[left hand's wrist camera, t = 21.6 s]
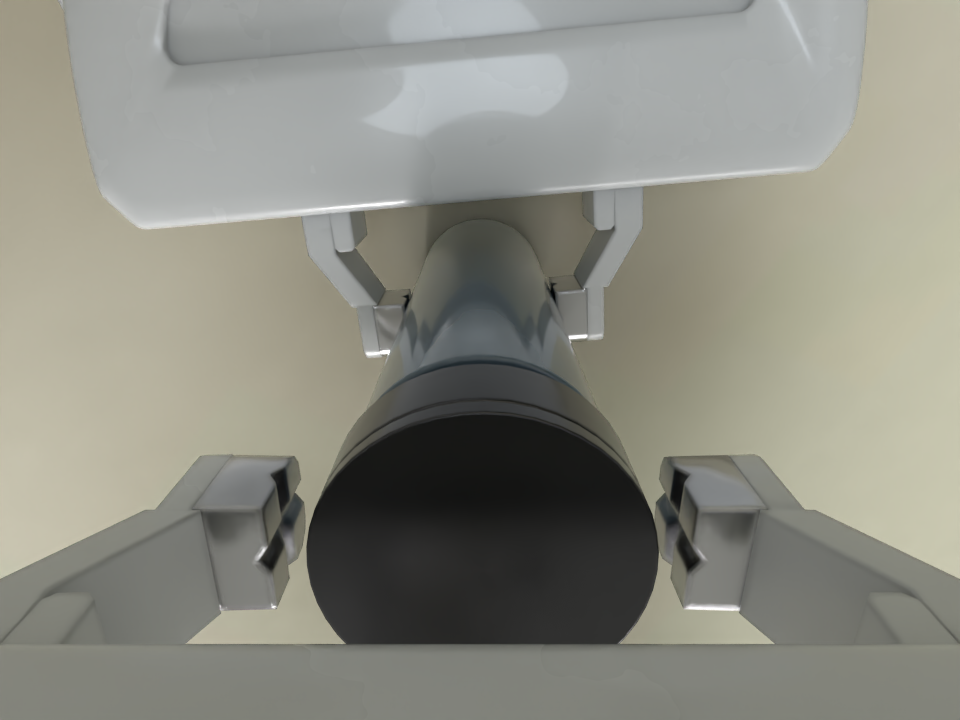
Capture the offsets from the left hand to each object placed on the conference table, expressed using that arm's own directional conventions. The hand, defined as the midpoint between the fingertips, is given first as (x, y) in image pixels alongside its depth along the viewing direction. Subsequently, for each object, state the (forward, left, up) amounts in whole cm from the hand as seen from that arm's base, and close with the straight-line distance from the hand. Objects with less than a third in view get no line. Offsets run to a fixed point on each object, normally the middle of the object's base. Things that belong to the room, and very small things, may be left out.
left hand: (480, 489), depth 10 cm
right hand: (0, +1, -10) cm, 10 cm away
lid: (0, 0, +2) cm, 2 cm away
